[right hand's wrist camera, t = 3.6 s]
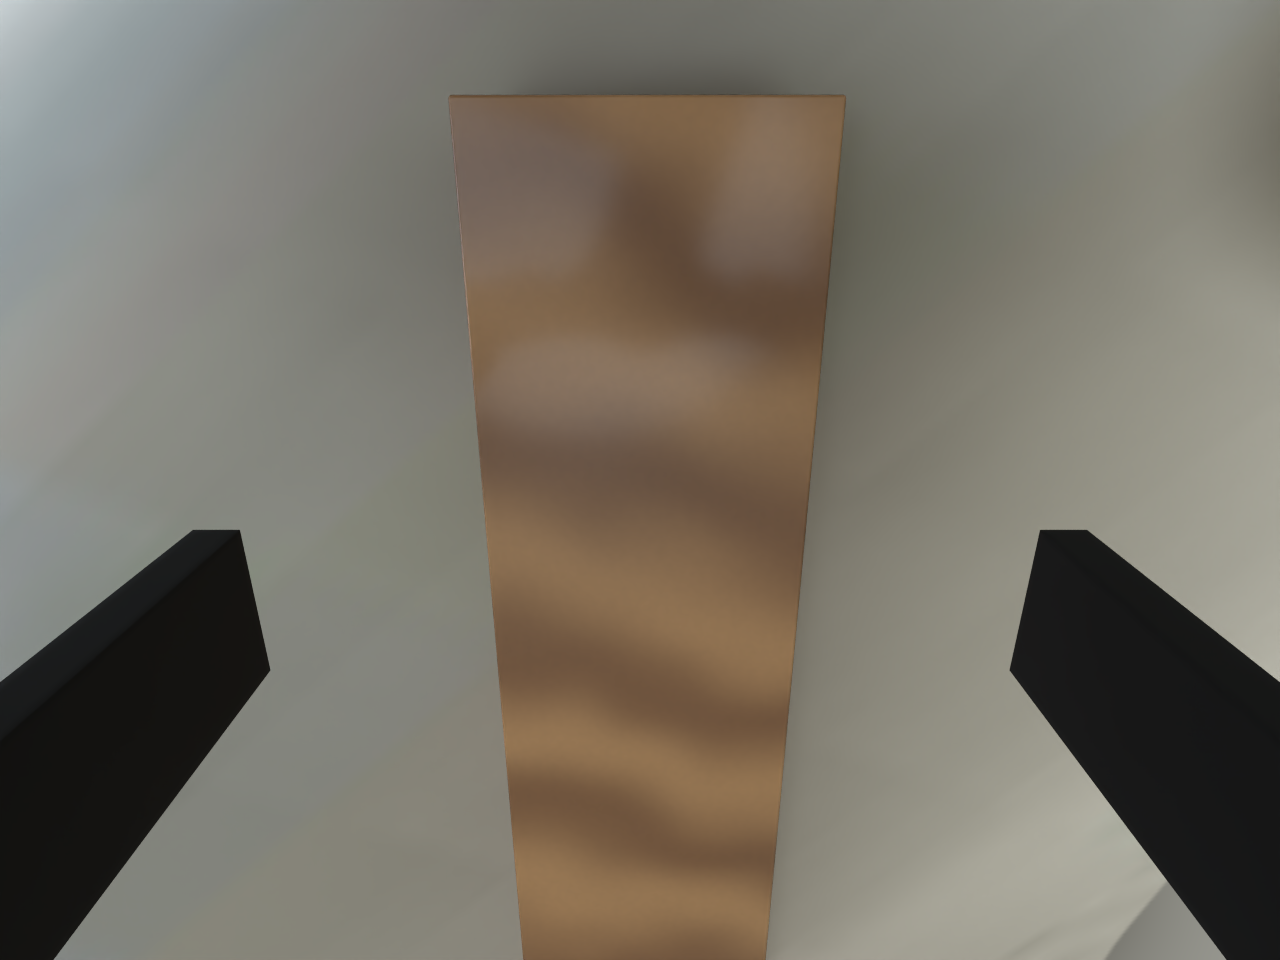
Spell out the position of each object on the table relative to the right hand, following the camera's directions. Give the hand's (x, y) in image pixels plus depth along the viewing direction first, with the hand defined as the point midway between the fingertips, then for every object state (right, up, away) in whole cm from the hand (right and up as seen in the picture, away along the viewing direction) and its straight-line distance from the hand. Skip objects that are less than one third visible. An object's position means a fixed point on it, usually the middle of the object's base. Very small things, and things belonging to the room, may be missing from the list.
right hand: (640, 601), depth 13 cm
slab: (0, -25, +27) cm, 37 cm away
